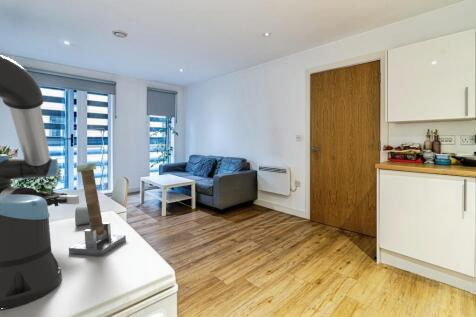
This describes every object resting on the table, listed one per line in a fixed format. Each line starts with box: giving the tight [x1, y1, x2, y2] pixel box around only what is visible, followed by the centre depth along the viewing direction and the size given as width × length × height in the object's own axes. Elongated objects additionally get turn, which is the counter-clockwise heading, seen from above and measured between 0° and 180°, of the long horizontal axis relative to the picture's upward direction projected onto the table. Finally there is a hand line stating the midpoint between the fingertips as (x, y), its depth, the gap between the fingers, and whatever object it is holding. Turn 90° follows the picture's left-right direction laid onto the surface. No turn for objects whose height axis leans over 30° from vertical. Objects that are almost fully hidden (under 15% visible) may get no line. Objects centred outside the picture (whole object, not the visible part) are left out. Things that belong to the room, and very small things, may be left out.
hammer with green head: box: [76, 163, 107, 241], centre depth 83 cm, size 5×4×26 cm
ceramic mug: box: [74, 206, 90, 226], centre depth 109 cm, size 11×8×8 cm
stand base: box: [68, 221, 127, 257], centre depth 84 cm, size 12×12×7 cm
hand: (77, 200), depth 84 cm, fingers closed
